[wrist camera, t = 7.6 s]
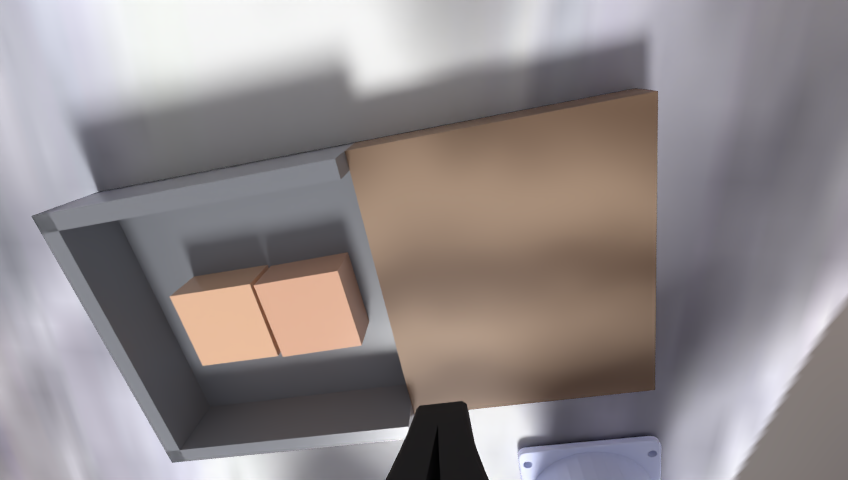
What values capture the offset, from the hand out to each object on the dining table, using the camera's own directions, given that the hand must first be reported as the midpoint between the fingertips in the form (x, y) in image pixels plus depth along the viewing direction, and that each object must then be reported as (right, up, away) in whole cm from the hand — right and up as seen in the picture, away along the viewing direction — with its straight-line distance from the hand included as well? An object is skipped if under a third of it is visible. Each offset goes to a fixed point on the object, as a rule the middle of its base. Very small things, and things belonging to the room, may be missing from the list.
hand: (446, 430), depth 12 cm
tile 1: (-6, +3, +9) cm, 11 cm away
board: (+4, +4, +9) cm, 10 cm away
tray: (-9, +2, +10) cm, 14 cm away
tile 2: (-10, +2, +10) cm, 14 cm away
